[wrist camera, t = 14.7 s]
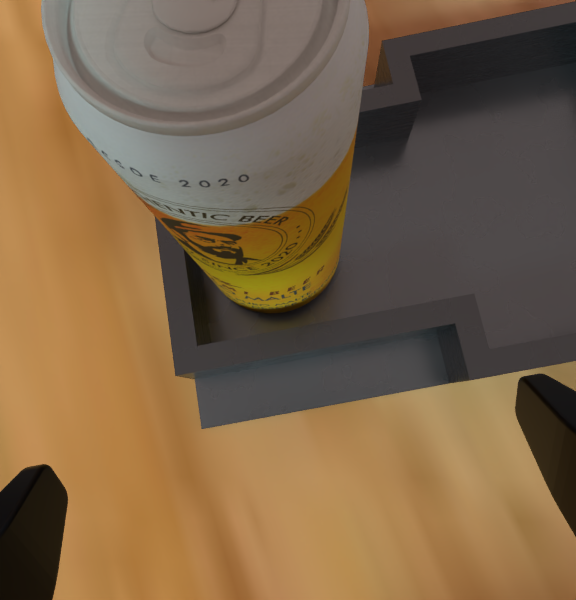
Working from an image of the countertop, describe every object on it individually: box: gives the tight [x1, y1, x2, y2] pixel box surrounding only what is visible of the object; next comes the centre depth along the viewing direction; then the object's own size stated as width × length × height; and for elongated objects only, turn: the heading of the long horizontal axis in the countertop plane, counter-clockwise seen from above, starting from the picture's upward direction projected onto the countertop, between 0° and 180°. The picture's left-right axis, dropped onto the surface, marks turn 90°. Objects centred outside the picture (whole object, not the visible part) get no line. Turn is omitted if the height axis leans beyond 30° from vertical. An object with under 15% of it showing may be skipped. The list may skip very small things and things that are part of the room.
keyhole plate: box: [155, 1, 576, 429], centre depth 21 cm, size 15×23×4 cm, turn 100°
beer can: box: [41, 0, 369, 313], centre depth 15 cm, size 6×6×15 cm
